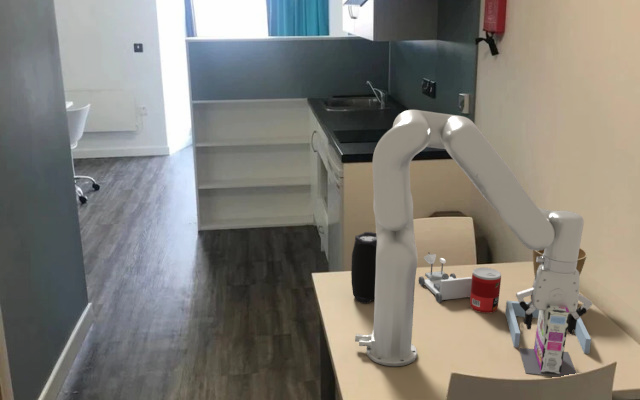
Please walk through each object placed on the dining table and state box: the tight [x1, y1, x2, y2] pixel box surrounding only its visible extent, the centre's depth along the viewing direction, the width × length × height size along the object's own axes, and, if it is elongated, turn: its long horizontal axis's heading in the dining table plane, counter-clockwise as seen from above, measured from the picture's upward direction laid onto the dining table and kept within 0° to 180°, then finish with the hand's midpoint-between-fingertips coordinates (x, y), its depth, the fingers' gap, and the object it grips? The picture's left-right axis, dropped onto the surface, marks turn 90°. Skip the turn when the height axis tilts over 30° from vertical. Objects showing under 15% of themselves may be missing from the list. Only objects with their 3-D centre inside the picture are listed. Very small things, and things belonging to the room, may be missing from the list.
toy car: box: [418, 251, 472, 304], centre depth 199 cm, size 18×10×12 cm
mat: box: [518, 347, 577, 377], centre depth 160 cm, size 12×12×1 cm
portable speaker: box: [350, 231, 377, 304], centre depth 191 cm, size 9×9×20 cm
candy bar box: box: [533, 306, 570, 374], centre depth 157 cm, size 11×5×16 cm, turn 171°
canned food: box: [469, 267, 502, 314], centre depth 187 cm, size 8×8×11 cm
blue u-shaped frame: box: [505, 300, 592, 354], centre depth 174 cm, size 18×19×4 cm
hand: (548, 329), depth 157 cm, fingers open, 9 cm apart
